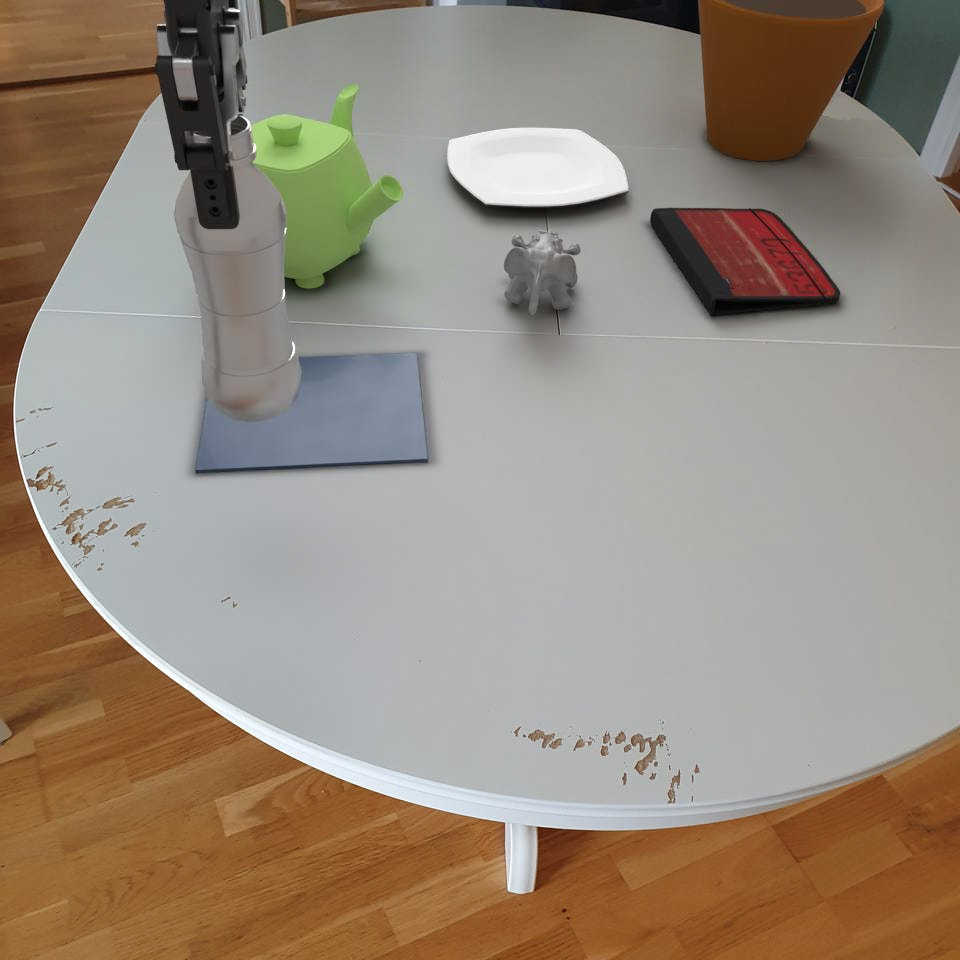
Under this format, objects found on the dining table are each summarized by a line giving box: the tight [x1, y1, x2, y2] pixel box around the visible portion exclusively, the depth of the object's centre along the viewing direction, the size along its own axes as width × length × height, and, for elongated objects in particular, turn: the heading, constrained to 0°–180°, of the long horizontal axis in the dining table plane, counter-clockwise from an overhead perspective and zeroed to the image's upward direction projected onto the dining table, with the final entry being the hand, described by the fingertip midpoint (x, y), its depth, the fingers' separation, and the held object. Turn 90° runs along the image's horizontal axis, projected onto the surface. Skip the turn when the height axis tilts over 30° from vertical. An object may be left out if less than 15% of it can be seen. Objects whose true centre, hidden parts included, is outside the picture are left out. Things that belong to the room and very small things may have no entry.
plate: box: [446, 127, 630, 209], centre depth 124 cm, size 23×23×2 cm
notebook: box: [649, 207, 841, 317], centre depth 109 cm, size 16×2×21 cm
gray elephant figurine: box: [503, 229, 582, 315], centre depth 99 cm, size 9×12×8 cm
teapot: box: [250, 83, 404, 289], centre depth 102 cm, size 25×22×16 cm
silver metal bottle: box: [173, 115, 302, 422], centre depth 59 cm, size 6×7×20 cm
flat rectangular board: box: [194, 352, 429, 473], centre depth 87 cm, size 20×16×1 cm
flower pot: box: [697, 0, 885, 162], centre depth 129 cm, size 24×24×20 cm
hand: (226, 199), depth 56 cm, fingers closed on silver metal bottle, 6 cm apart
